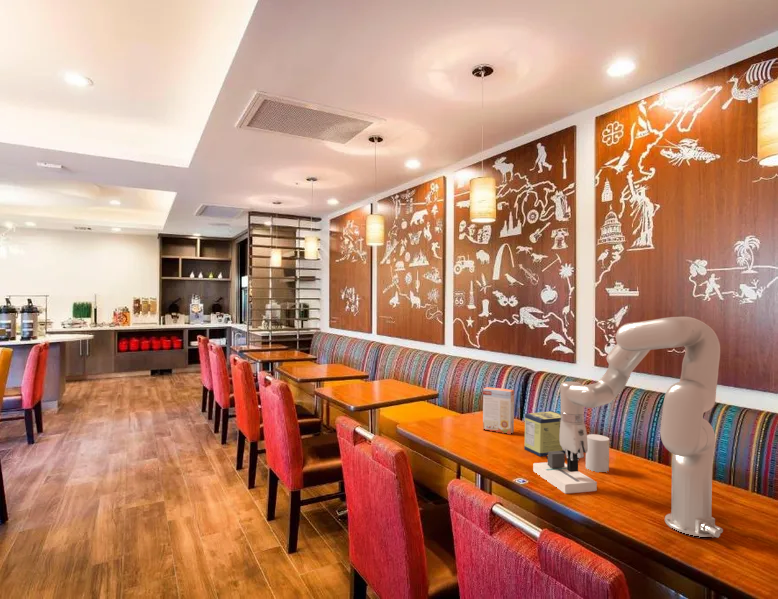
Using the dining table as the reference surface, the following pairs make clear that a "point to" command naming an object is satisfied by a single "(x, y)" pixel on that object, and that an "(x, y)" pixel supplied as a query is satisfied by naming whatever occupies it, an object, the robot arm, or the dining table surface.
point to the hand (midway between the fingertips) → (572, 470)
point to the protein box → (542, 432)
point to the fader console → (565, 478)
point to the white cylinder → (597, 453)
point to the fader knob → (556, 459)
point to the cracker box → (498, 410)
